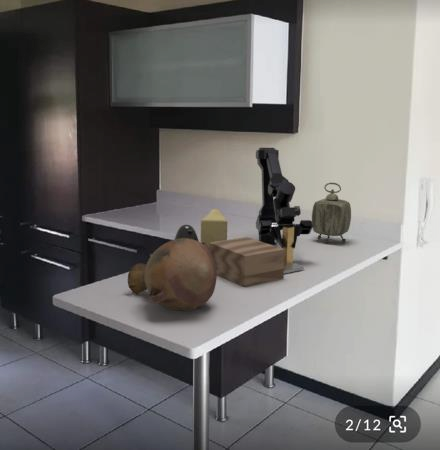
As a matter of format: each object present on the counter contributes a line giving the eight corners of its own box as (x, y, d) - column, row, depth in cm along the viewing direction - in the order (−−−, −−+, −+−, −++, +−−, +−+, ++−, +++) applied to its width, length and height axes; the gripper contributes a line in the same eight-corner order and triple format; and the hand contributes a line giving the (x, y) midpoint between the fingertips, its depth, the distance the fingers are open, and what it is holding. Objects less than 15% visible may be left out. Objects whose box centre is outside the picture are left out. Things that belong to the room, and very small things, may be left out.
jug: (229, 312, 152) (164, 302, 175) (233, 240, 153) (168, 239, 176) (170, 314, 139) (107, 303, 161) (174, 236, 140) (111, 235, 162)
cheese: (203, 244, 227) (203, 207, 224) (227, 244, 227) (227, 208, 224) (200, 258, 206) (200, 218, 203) (226, 259, 206) (227, 219, 203)
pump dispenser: (178, 273, 187) (178, 228, 184) (166, 265, 196) (166, 222, 193) (206, 269, 192) (206, 226, 189) (193, 262, 201) (193, 220, 198)
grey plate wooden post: (243, 281, 178) (244, 239, 175) (220, 271, 188) (221, 231, 185) (303, 269, 193) (305, 229, 190) (278, 260, 203) (280, 223, 200)
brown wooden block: (208, 271, 190) (209, 242, 188) (246, 264, 199) (246, 236, 197) (244, 287, 174) (245, 255, 172) (283, 278, 183) (284, 249, 181)
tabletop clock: (349, 242, 234) (353, 183, 229) (342, 246, 226) (346, 185, 221) (316, 238, 241) (319, 180, 236) (308, 242, 233) (311, 182, 228)
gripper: (260, 197, 194) (266, 236, 186) (312, 197, 197) (320, 235, 188) (255, 215, 204) (260, 252, 195) (305, 215, 206) (312, 252, 198)
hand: (288, 247), depth 194 cm, fingers closed on grey plate wooden post, 4 cm apart
